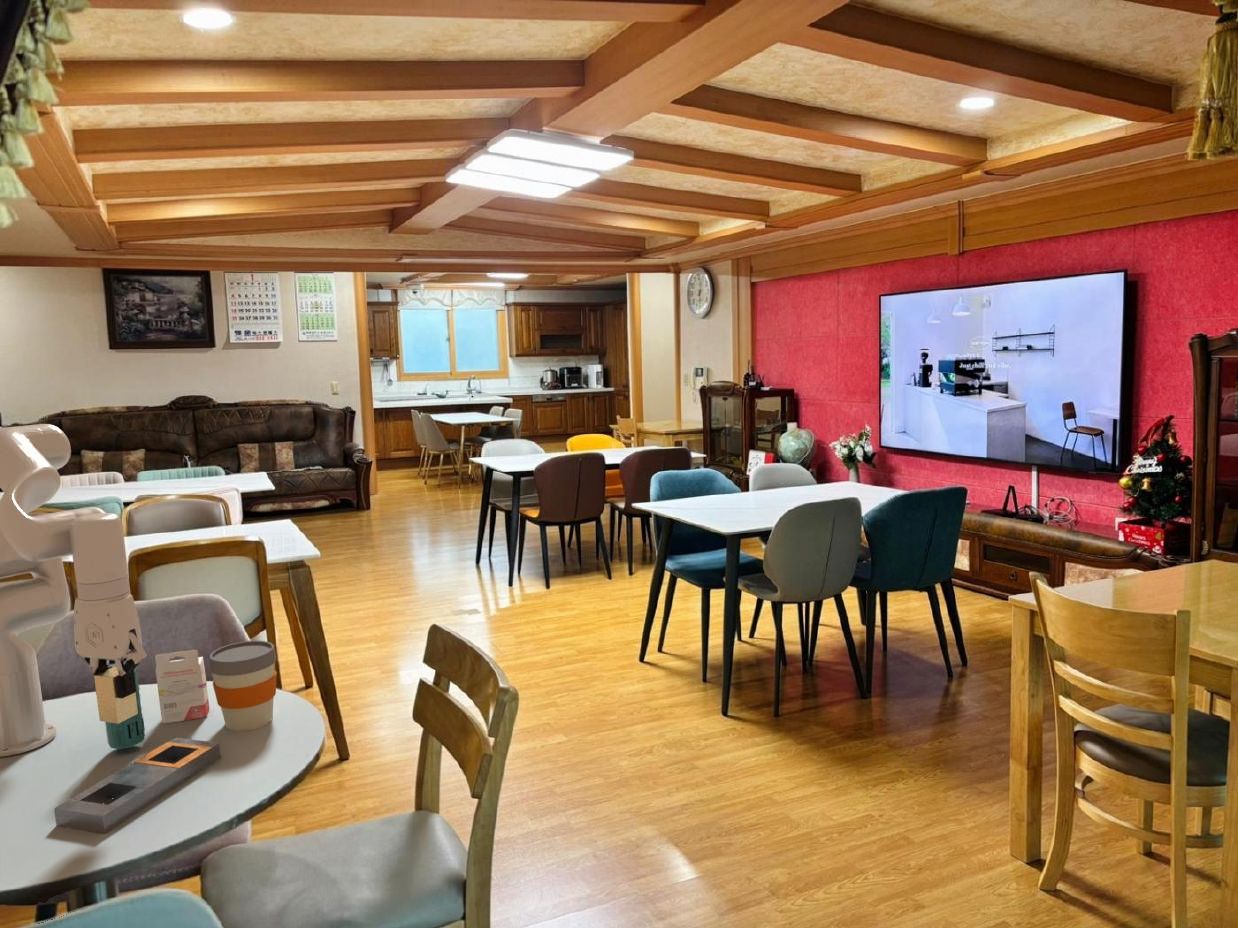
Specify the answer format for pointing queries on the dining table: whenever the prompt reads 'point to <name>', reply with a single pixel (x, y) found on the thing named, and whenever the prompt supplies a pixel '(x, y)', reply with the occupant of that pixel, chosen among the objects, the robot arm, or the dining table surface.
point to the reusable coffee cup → (245, 683)
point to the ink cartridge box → (181, 686)
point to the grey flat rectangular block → (137, 785)
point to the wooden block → (113, 698)
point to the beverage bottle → (127, 725)
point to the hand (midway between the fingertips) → (116, 692)
